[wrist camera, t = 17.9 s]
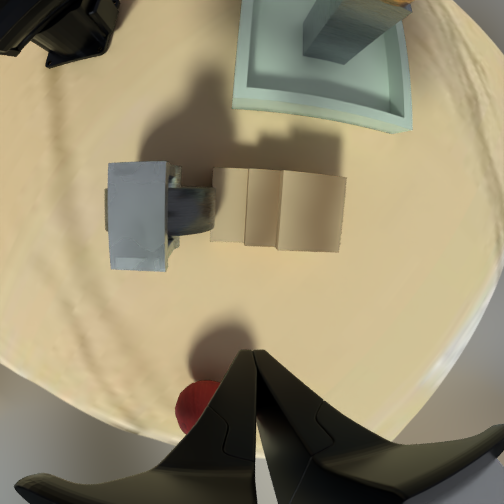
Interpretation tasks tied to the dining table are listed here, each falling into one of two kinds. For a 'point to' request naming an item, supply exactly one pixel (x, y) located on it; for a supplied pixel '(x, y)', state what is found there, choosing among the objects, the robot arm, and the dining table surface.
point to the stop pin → (348, 26)
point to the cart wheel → (152, 213)
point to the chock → (278, 209)
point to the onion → (194, 403)
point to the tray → (318, 71)
